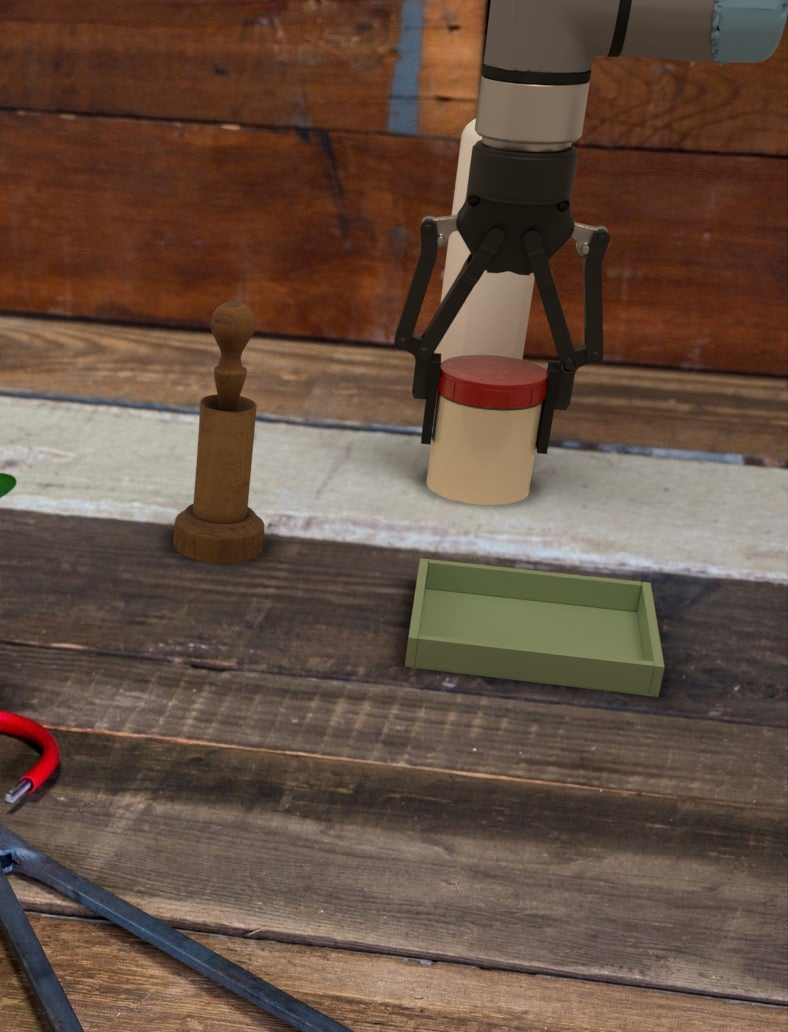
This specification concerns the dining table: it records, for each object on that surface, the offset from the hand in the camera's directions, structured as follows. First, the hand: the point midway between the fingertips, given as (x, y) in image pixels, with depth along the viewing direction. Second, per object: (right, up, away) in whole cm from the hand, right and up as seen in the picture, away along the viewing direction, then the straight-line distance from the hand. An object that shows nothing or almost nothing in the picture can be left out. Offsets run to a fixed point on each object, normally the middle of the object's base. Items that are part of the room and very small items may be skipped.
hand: (483, 443), depth 132 cm
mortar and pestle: (-22, -10, -10) cm, 26 cm away
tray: (-3, -17, -23) cm, 29 cm away
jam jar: (0, -4, +2) cm, 4 cm away
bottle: (+6, +10, +27) cm, 29 cm away
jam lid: (0, +5, -3) cm, 6 cm away
